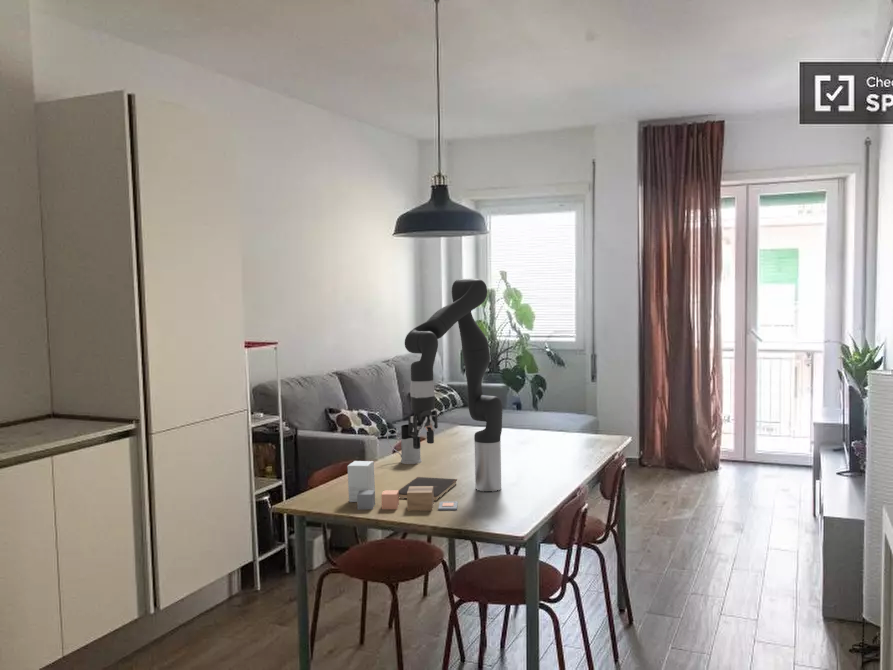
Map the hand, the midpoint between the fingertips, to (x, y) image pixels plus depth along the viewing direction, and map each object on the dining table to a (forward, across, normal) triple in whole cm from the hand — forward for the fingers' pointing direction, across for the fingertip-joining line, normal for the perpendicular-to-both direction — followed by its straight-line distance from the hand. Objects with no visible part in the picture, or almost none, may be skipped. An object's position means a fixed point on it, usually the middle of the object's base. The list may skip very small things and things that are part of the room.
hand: (423, 445), depth 239 cm
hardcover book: (+23, -25, -14) cm, 37 cm away
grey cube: (+22, +1, -22) cm, 31 cm away
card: (+22, -11, +2) cm, 25 cm away
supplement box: (+22, -6, -28) cm, 37 cm away
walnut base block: (+22, -7, -6) cm, 24 cm away
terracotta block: (+22, -3, -15) cm, 27 cm away
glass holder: (+22, -61, -45) cm, 79 cm away
